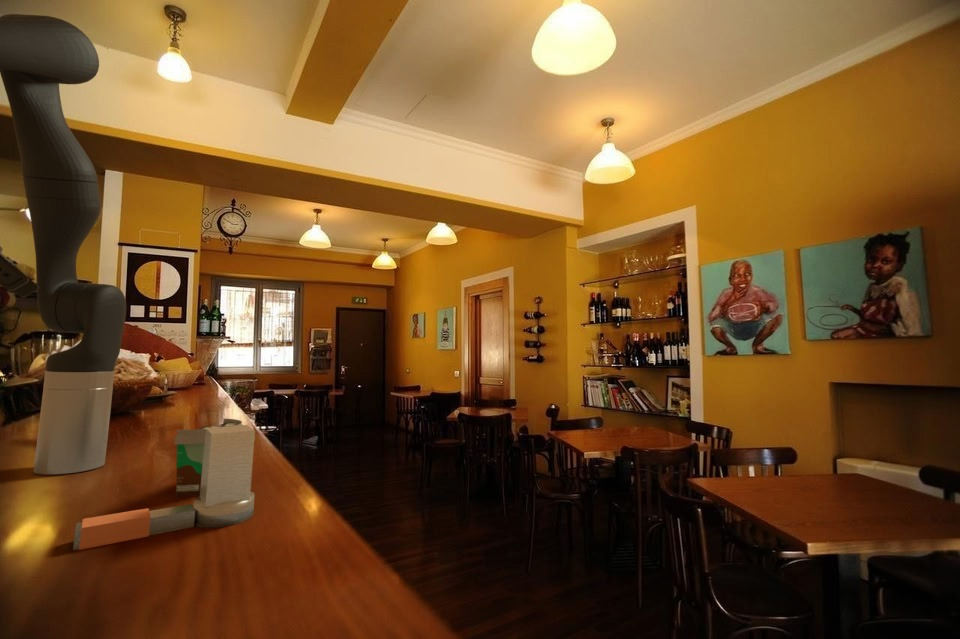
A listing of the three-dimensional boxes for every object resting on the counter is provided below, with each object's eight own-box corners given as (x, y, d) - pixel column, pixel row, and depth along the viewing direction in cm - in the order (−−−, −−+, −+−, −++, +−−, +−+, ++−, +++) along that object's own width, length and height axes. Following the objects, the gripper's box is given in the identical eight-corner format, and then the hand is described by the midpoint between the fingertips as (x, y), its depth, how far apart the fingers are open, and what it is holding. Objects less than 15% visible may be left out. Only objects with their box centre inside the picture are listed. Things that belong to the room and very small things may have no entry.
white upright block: (199, 496, 57) (205, 427, 58) (241, 489, 61) (246, 425, 61) (205, 507, 53) (211, 434, 54) (249, 499, 57) (255, 430, 57)
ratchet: (75, 535, 50) (80, 486, 51) (246, 504, 62) (249, 465, 62) (71, 557, 45) (77, 503, 45) (259, 519, 57) (262, 476, 57)
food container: (210, 501, 62) (216, 431, 63) (168, 499, 63) (175, 430, 63) (255, 477, 75) (260, 419, 76) (221, 476, 75) (226, 418, 76)
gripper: (-95, 132, 43) (52, 264, 49) (-53, 175, 54) (63, 278, 60) (-198, 167, 39) (-24, 305, 45) (-130, 205, 50) (3, 312, 56)
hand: (26, 289), depth 53 cm, fingers open, 8 cm apart
